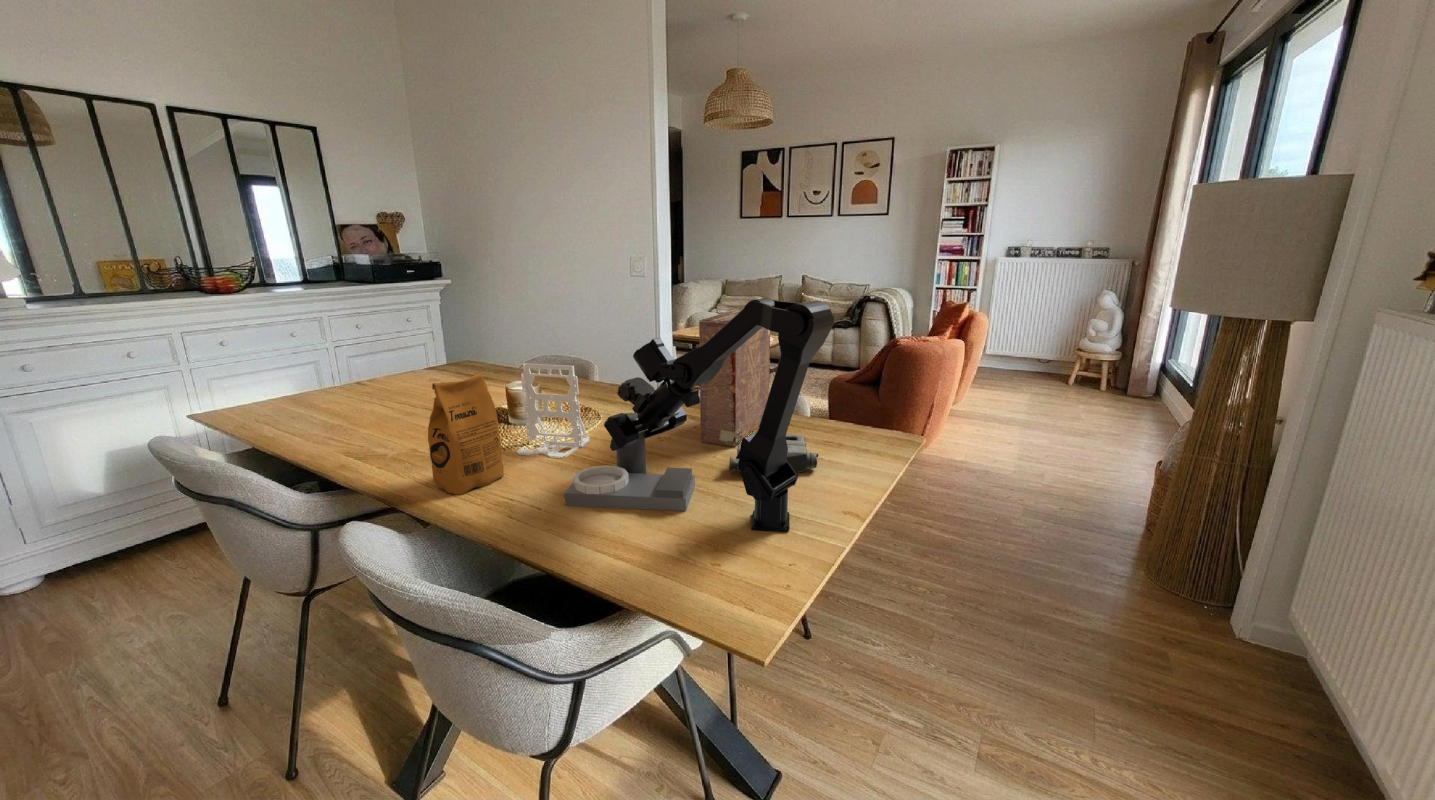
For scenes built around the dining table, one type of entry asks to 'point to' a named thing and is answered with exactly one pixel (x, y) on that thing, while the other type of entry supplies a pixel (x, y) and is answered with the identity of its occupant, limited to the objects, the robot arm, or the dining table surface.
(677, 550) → the dining table surface
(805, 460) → the camcorder
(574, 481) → the grey stepped base
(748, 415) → the book
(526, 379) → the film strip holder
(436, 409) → the coffee package
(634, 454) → the dark grey cylinder
